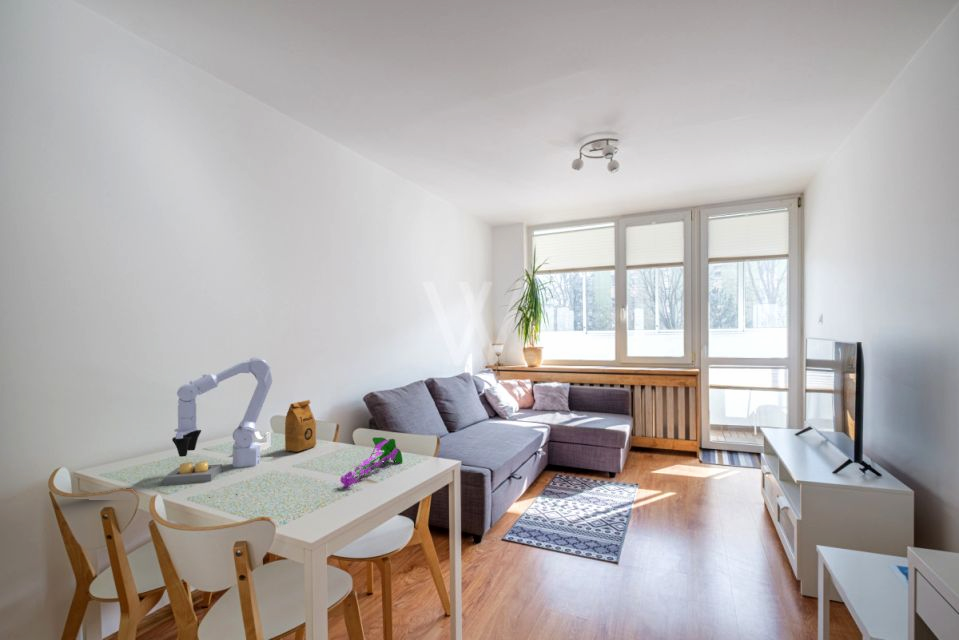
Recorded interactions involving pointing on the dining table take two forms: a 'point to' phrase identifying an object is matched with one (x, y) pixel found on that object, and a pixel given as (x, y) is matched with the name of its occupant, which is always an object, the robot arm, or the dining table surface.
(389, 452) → the purple green flared piece
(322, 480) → the dining table surface
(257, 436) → the bracket
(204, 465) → the yellow potato
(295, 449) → the coffee package
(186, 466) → the yellow oval lump
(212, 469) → the grey tray
